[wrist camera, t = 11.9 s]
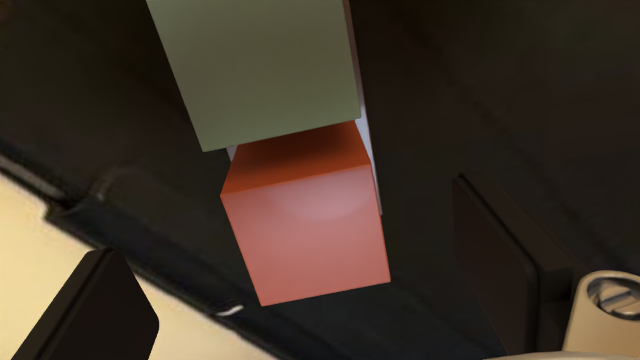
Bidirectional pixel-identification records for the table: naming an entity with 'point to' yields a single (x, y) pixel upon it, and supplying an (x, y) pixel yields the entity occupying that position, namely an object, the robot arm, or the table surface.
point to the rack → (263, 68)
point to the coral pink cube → (306, 213)
